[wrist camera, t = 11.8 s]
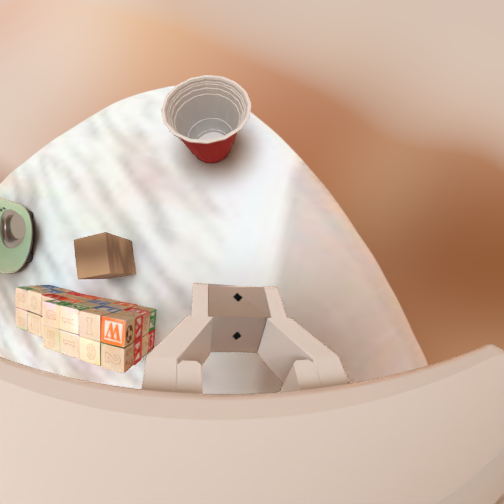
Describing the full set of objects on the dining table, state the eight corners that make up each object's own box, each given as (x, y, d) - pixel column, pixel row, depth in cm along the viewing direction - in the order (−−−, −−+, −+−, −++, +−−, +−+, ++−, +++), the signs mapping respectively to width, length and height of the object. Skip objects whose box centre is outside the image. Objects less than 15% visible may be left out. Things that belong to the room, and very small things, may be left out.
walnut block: (136, 273, 38) (110, 273, 29) (108, 278, 38) (77, 279, 29) (131, 240, 39) (105, 232, 30) (104, 246, 38) (73, 240, 30)
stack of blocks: (47, 319, 37) (2, 328, 25) (49, 284, 38) (2, 285, 25) (154, 348, 38) (124, 374, 26) (157, 308, 38) (125, 321, 26)
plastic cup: (260, 159, 41) (268, 119, 29) (196, 190, 40) (180, 158, 28) (229, 109, 41) (227, 61, 29) (169, 136, 40) (150, 94, 28)
